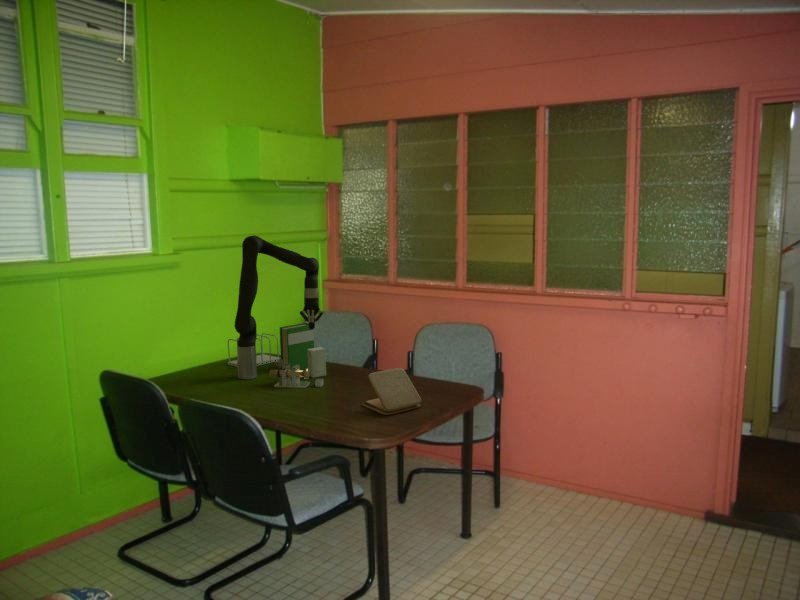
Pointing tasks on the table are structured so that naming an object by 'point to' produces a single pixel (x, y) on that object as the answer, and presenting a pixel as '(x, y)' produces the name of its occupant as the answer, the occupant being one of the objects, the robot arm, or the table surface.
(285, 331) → the hardback book
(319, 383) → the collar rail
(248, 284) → the robot arm
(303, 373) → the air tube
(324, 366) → the skincare box
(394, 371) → the case
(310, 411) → the table surface
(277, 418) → the table surface
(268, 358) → the file sorter
